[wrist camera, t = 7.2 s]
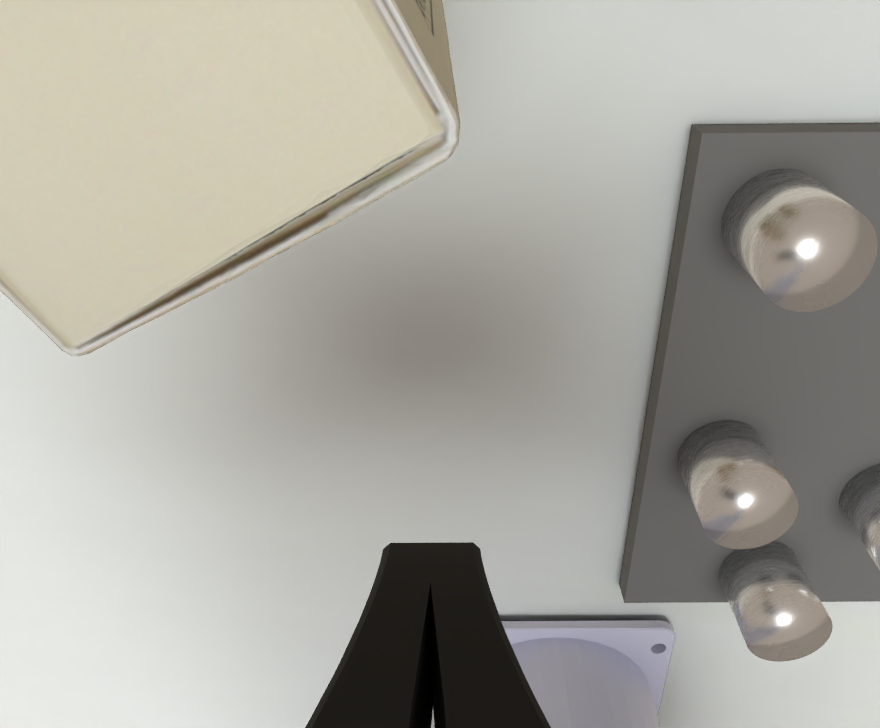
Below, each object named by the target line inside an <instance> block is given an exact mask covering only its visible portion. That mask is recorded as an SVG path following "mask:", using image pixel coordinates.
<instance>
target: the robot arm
mask: <svg viewBox="0 0 880 728" xmlns="http://www.w3.org/2000/svg"><path fill="white" fill-rule="evenodd" d="M674 639H675V633H674V630H673V627H672V626H671V624H670V623H668V622H666V621H661V620H631V621H501V619H500V617H499V614H498V611H497V609H496V606H495V603H494V600H493V597H492V594H491V591H490V588H489V585H488V582H487V578H486V575H485V571H484V567H483V563H482V558H481V552H480V548H479V547H477V546H476V545H475V544H474V543H390V544H389V545H388V546H386V547H385V548H384V549H383V553H382V557H381V562H380V565H379V569H378V572H377V575H376V578H375V581H374V584H373V587H372V590H371V592H370V595H369V598H368V600H367V603H366V605H365V608H364V610H363V613H362V615H361V618H360V620H359V622H358V624H357V627H356V629H355V631H354V633H353V635H352V638H351V640H350V642H349V644H348V646H347V648H346V651H345V653H344V655H343V657H342V659H341V661H340V664H339V666H338V668H337V670H336V672H335V674H334V675H333V677H332V679H331V681H330V683H329V685H328V687H327V689H326V690H325V692H324V694H323V696H322V698H321V700H320V702H319V704H318V705H317V707H316V709H315V711H314V713H313V715H312V717H311V719H310V720H309V722H308V724H307V726H306V727H305V728H431V721H432V710H434V722H435V728H660V724H659V721H658V717H657V716H658V711H659V707H660V702H661V698H662V693H663V689H664V684H665V680H666V675H667V671H668V666H669V662H670V657H671V653H672V648H673V644H674Z"/></svg>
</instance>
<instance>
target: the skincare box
mask: <svg viewBox="0 0 880 728" xmlns="http://www.w3.org/2000/svg"><path fill="white" fill-rule="evenodd" d="M459 129H460V119H459V112H458V105H457V99H456V92H455V86H454V79H453V73H452V66H451V60H450V53H449V44H448V37H447V30H446V23H445V17H444V10H443V3H442V0H0V291H1V292H2V293H3V294H4V295H6V296H7V297H8V298H9V299H10V300H11V301H12V302H13V303H14V304H15V305H16V306H17V307H18V308H19V309H20V310H21V311H22V312H23V313H24V314H25V315H27V316H28V317H29V318H30V319H31V320H32V321H33V322H34V323H35V324H36V325H37V326H38V327H39V328H40V329H41V330H42V331H43V332H44V333H45V334H46V335H47V336H48V337H49V338H50V339H51V340H52V341H53V342H54V343H55V344H56V345H57V346H58V347H59V348H60V349H61V350H62V351H64V352H66V353H68V354H69V355H71V356H82V355H85V354H88V353H91V352H93V351H95V350H96V349H98V348H100V347H102V346H104V345H105V344H107V343H109V342H111V341H112V340H114V339H116V338H118V337H120V336H121V335H123V334H125V333H127V332H129V331H130V330H132V329H135V328H137V327H139V326H141V325H143V324H145V323H148V322H150V321H152V320H154V319H156V318H158V317H159V316H161V315H163V314H165V313H167V312H169V311H171V310H173V309H175V308H177V307H179V306H181V305H183V304H185V303H186V302H188V301H190V300H192V299H194V298H196V297H198V296H200V295H202V294H204V293H206V292H208V291H211V290H213V289H215V288H216V287H218V286H219V285H221V284H223V283H225V282H228V281H230V280H232V279H234V278H236V277H238V276H239V275H241V274H243V273H244V272H246V271H248V270H250V269H252V268H254V267H256V266H258V265H259V264H261V263H263V262H264V261H266V260H267V259H269V258H271V257H273V256H275V255H277V254H279V253H281V252H283V251H285V250H287V249H289V248H290V247H292V246H294V245H295V244H297V243H299V242H301V241H303V240H305V239H307V238H309V237H311V236H313V235H315V234H317V233H319V232H321V231H323V230H325V229H326V228H328V227H330V226H332V225H334V224H336V223H337V222H339V221H341V220H343V219H344V218H346V217H348V216H350V215H351V214H353V213H355V212H357V211H358V210H360V209H362V208H364V207H365V206H367V205H369V204H371V203H372V202H374V201H376V200H378V199H379V198H381V197H383V196H385V195H386V194H388V193H390V192H392V191H394V190H395V189H397V188H399V187H401V186H403V185H404V184H406V183H408V182H410V181H412V180H413V179H415V178H417V177H419V176H421V175H422V174H424V173H426V172H427V171H429V170H431V169H432V168H434V167H436V166H437V165H439V164H440V163H442V162H444V161H445V160H446V159H447V158H448V157H450V156H451V155H452V153H453V152H454V150H455V148H456V147H457V145H458V141H459Z"/></svg>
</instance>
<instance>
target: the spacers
mask: <svg viewBox="0 0 880 728" xmlns="http://www.w3.org/2000/svg"><path fill="white" fill-rule="evenodd" d="M721 233H722V238H723V241H724V243H725V245H726V247H727V249H728V250H729V251H730V253H731V254H732V255H733V256H734V257H735V259H736V260H737V261H738V262H739V263H740V265H741V266H742V267H743V268H744V269H745V271H746V272H747V273H748V274H749V275H750V277H751V278H752V279H753V280H754V281H755V282H756V284H757V285H758V286H759V287H760V288H761V290H762V291H763V292H764V293H765V294H766V296H767V297H768V298H769V299H770V300H771V301H772V302H774V303H775V304H777V305H778V306H780V307H782V308H784V309H788V310H791V311H797V312H810V311H816V310H821V309H824V308H827V307H830V306H832V305H835V304H837V303H839V302H840V301H842V300H844V299H845V298H847V297H848V296H849V295H851V294H852V293H853V292H854V291H855V290H856V289H857V288H858V287H860V285H861V284H862V283H863V282H864V281H865V279H866V278H867V276H868V275H869V273H870V271H871V269H872V267H873V265H874V262H875V260H876V255H877V248H878V243H877V236H876V232H875V229H874V227H873V225H872V224H871V222H870V221H869V220H868V219H867V217H866V216H864V215H863V214H862V213H861V212H859V211H858V210H856V209H855V208H854V207H852V206H851V205H850V204H848V203H847V202H845V201H844V200H843V199H841V198H840V197H838V196H837V195H836V194H834V193H833V192H832V191H830V190H829V189H827V188H826V187H825V186H823V185H822V184H821V183H819V182H818V181H816V180H815V179H814V178H812V177H811V176H810V175H808V174H806V173H804V172H802V171H799V170H796V169H790V168H779V169H773V170H769V171H766V172H763V173H760V174H758V175H756V176H754V177H753V178H751V179H749V180H748V181H747V182H745V183H744V184H743V185H742V186H741V187H740V188H738V190H737V191H736V192H735V193H734V194H733V196H732V197H731V198H730V200H729V202H728V203H727V205H726V208H725V210H724V213H723V216H722V222H721ZM677 466H678V469H679V471H680V474H681V476H682V478H683V481H684V483H685V486H686V488H687V490H688V493H689V495H690V497H691V500H692V502H693V504H694V507H695V509H696V512H697V514H698V516H699V519H700V521H701V523H702V526H703V528H704V530H705V533H706V534H707V536H708V537H709V538H710V539H711V540H712V541H714V542H715V543H717V544H719V545H721V546H723V547H727V548H732V549H735V550H733V551H732V552H731V553H729V554H728V555H727V556H726V557H725V559H724V560H723V561H722V563H721V565H720V568H719V579H720V582H721V584H722V586H723V589H724V591H725V594H726V596H727V598H728V601H729V603H730V606H731V608H732V610H733V613H734V615H735V618H736V620H737V622H738V625H739V627H740V630H741V632H742V634H743V637H744V639H745V642H746V644H747V646H748V648H749V650H750V651H751V652H752V653H753V654H754V655H756V656H758V657H760V658H762V659H765V660H769V661H790V660H795V659H798V658H802V657H804V656H807V655H809V654H811V653H813V652H814V651H816V650H817V649H819V648H820V647H821V646H822V645H823V644H824V643H825V642H826V641H827V640H828V638H829V637H830V634H831V632H832V621H831V619H830V617H829V615H828V613H827V611H826V610H825V608H824V606H823V604H822V602H821V601H820V599H819V597H818V595H817V593H816V591H815V590H814V588H813V586H812V584H811V582H810V580H809V579H808V577H807V575H806V573H805V571H804V570H803V568H802V566H801V564H800V562H799V560H798V559H797V557H796V555H795V553H794V552H793V550H792V549H791V548H790V547H788V546H787V545H785V544H783V543H780V542H777V541H774V540H776V539H777V538H779V537H780V536H782V535H783V534H784V533H785V532H786V531H787V530H788V529H789V528H790V527H791V526H792V524H793V523H794V521H795V519H796V517H797V514H798V507H799V505H798V499H797V497H796V495H795V493H794V491H793V490H792V488H791V486H790V485H789V483H788V481H787V480H786V478H785V476H784V475H783V473H782V472H781V470H780V468H779V467H778V465H777V463H776V462H775V460H774V458H773V457H772V455H771V453H770V452H769V450H768V448H767V447H766V445H765V443H764V442H763V440H762V438H761V437H760V435H759V433H758V432H757V431H756V430H755V429H754V428H753V427H751V426H750V425H748V424H746V423H744V422H740V421H736V420H719V421H714V422H711V423H708V424H705V425H703V426H701V427H699V428H697V429H696V430H694V431H693V432H692V433H690V434H689V435H688V436H687V437H686V438H685V440H684V441H683V442H682V444H681V446H680V448H679V450H678V453H677ZM839 508H840V510H841V512H842V514H843V516H844V517H845V519H846V520H847V522H848V523H849V525H850V526H851V528H852V529H853V531H854V532H855V534H856V535H857V537H858V538H859V540H860V541H861V543H862V544H863V546H864V547H865V549H866V550H867V552H868V553H869V555H870V556H871V558H872V559H873V561H874V562H875V564H876V565H877V567H878V568H879V570H880V464H876V465H873V466H870V467H868V468H866V469H864V470H862V471H860V472H859V473H857V474H856V475H855V476H853V477H852V478H851V479H850V480H849V481H848V482H847V483H846V485H845V486H844V488H843V489H842V491H841V494H840V497H839Z"/></svg>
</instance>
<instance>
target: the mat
mask: <svg viewBox="0 0 880 728" xmlns="http://www.w3.org/2000/svg"><path fill="white" fill-rule="evenodd" d="M779 168H790V169H796V170H799V171H802V172H804V173H806V174H808V175H810V176H811V177H812V178H814V179H815V180H816V181H818V182H819V183H821V184H822V185H823V186H825V187H826V188H827V189H829V190H830V191H832V192H833V193H834V194H836V195H837V196H838V197H840V198H841V199H843V200H844V201H845V202H847V203H848V204H850V205H851V206H852V207H854V208H855V209H856V210H858V211H859V212H861V213H862V214H863V215H864V216H866V217H867V219H868V220H869V221H870V222H871V224H872V225H873V227H874V229H875V232H876V236H877V243H878V248H877V255H876V260H875V262H874V265H873V267H872V269H871V271H870V273H869V275H868V276H867V278H866V279H865V281H864V282H863V283H862V284H861V285H860V287H858V288H857V289H856V290H855V291H854V292H853V293H852V294H851V295H849V296H848V297H847V298H845V299H844V300H842V301H840V302H839V303H837V304H835V305H832V306H830V307H827V308H824V309H821V310H816V311H810V312H797V311H791V310H788V309H784V308H782V307H780V306H778V305H777V304H775V303H774V302H772V301H771V300H770V299H769V298H768V297H767V296H766V294H765V293H764V292H763V291H762V290H761V288H760V287H759V286H758V285H757V284H756V282H755V281H754V280H753V279H752V278H751V277H750V275H749V274H748V273H747V272H746V271H745V269H744V268H743V267H742V266H741V265H740V263H739V262H738V261H737V260H736V259H735V257H734V256H733V255H732V254H731V253H730V251H729V250H728V249H727V247H726V245H725V243H724V241H723V238H722V233H721V222H722V216H723V213H724V210H725V208H726V205H727V203H728V202H729V200H730V198H731V197H732V196H733V194H734V193H735V192H736V191H737V190H738V188H740V187H741V186H742V185H743V184H744V183H745V182H747V181H748V180H749V179H751V178H753V177H754V176H756V175H758V174H760V173H763V172H766V171H769V170H773V169H779ZM719 420H736V421H740V422H744V423H746V424H748V425H750V426H751V427H753V428H754V429H755V430H756V431H757V432H758V433H759V435H760V437H761V438H762V440H763V442H764V443H765V445H766V447H767V448H768V450H769V452H770V453H771V455H772V457H773V458H774V460H775V462H776V463H777V465H778V467H779V468H780V470H781V472H782V473H783V475H784V476H785V478H786V480H787V481H788V483H789V485H790V486H791V488H792V490H793V491H794V493H795V495H796V497H797V499H798V505H799V507H798V514H797V517H796V519H795V521H794V523H793V524H792V526H791V527H790V528H789V529H788V530H787V531H786V532H785V533H784V534H783V535H782V536H780V537H779V538H777V539H776V540H774V541H777V542H780V543H783V544H785V545H787V546H788V547H790V548H791V549H792V550H793V552H794V553H795V555H796V557H797V559H798V560H799V562H800V564H801V566H802V568H803V570H804V571H805V573H806V575H807V577H808V579H809V580H810V582H811V584H812V586H813V588H814V590H815V591H816V593H817V595H818V597H819V599H820V601H821V602H836V601H880V570H879V568H878V567H877V565H876V564H875V562H874V561H873V559H872V558H871V556H870V555H869V553H868V552H867V550H866V549H865V547H864V546H863V544H862V543H861V541H860V540H859V538H858V537H857V535H856V534H855V532H854V531H853V529H852V528H851V526H850V525H849V523H848V522H847V520H846V519H845V517H844V516H843V514H842V512H841V510H840V508H839V497H840V494H841V491H842V489H843V488H844V486H845V485H846V483H847V482H848V481H849V480H850V479H851V478H852V477H853V476H855V475H856V474H857V473H859V472H860V471H862V470H864V469H866V468H868V467H870V466H873V465H876V464H880V123H828V124H707V125H692V128H691V135H690V141H689V147H688V154H687V160H686V166H685V172H684V179H683V185H682V191H681V198H680V204H679V210H678V217H677V223H676V229H675V236H674V242H673V248H672V255H671V261H670V267H669V274H668V280H667V286H666V293H665V299H664V305H663V311H662V318H661V324H660V330H659V337H658V343H657V349H656V356H655V362H654V368H653V375H652V381H651V387H650V394H649V400H648V406H647V413H646V419H645V425H644V432H643V438H642V444H641V450H640V457H639V463H638V469H637V476H636V482H635V488H634V495H633V501H632V507H631V514H630V520H629V526H628V533H627V539H626V545H625V552H624V558H623V564H622V570H621V577H620V583H619V584H620V588H621V592H622V596H623V599H624V603H648V602H729V601H728V598H727V596H726V594H725V591H724V589H723V586H722V584H721V582H720V579H719V568H720V565H721V563H722V561H723V560H724V559H725V557H726V556H727V555H728V554H729V553H731V552H732V551H733V550H735V549H732V548H727V547H723V546H721V545H719V544H717V543H715V542H714V541H712V540H711V539H710V538H709V537H708V536H707V534H706V533H705V530H704V528H703V526H702V523H701V521H700V519H699V516H698V514H697V512H696V509H695V507H694V504H693V502H692V500H691V497H690V495H689V493H688V490H687V488H686V486H685V483H684V481H683V478H682V476H681V474H680V471H679V469H678V466H677V453H678V450H679V448H680V446H681V444H682V442H683V441H684V440H685V438H686V437H687V436H688V435H689V434H690V433H692V432H693V431H694V430H696V429H697V428H699V427H701V426H703V425H705V424H708V423H711V422H714V421H719Z"/></svg>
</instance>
